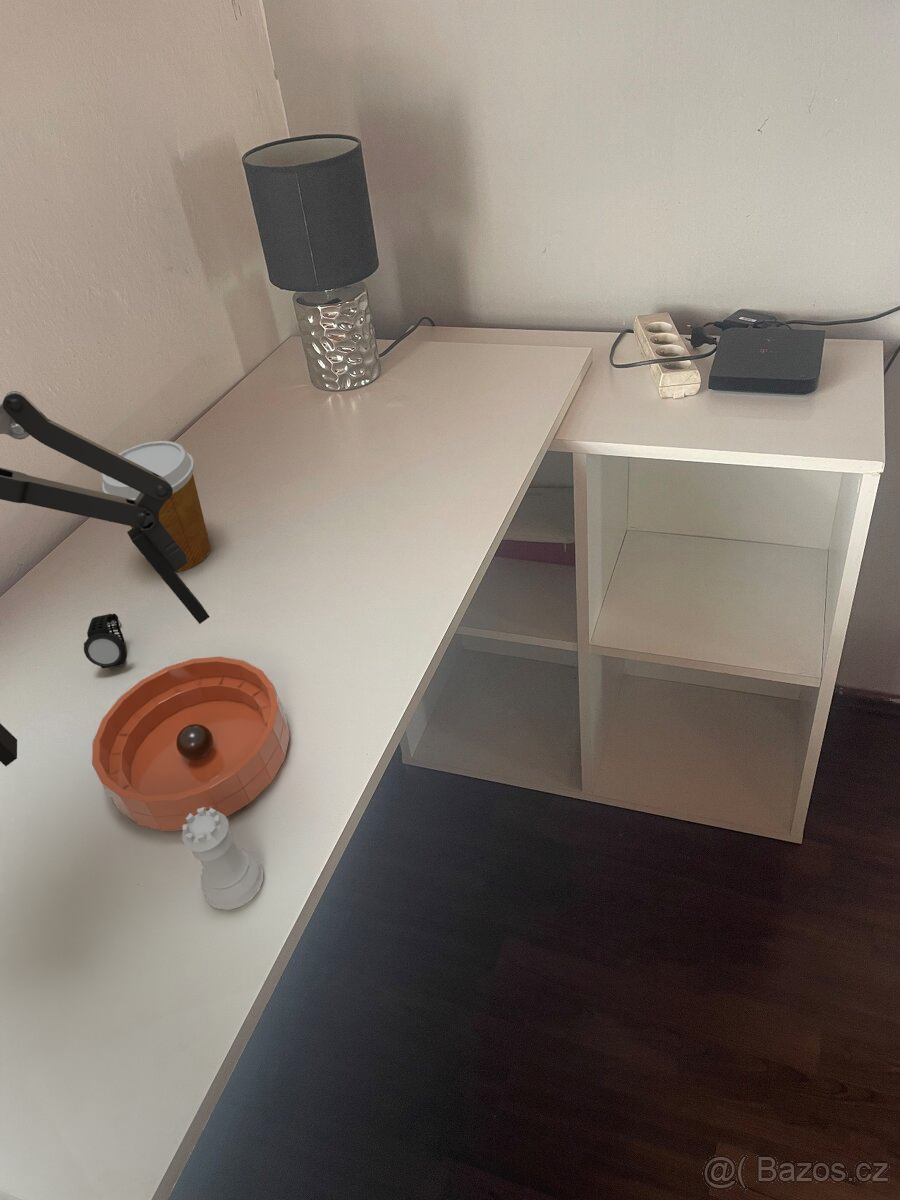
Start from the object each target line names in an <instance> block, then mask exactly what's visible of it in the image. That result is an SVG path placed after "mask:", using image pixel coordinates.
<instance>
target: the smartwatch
mask: <svg viewBox="0 0 900 1200" xmlns="http://www.w3.org/2000/svg"><path fill="white" fill-rule="evenodd" d="M122 628H123V623H122V622H121V621H120V619H119V616H118V615H117V614H116V613H107V614H102V615H98V616H95V617H92V618H91V619H90V622H89V625H88V629H87V632H86V634H87V639H85V641H84V642H83V653H84V655H85V657H86V659H87V660H88V661H89V662H90V663H92V664H93V665H95V666H98V667H101V669H109V668H114V667H120V666H123V665H124V664H125V663H126V660H127V646H126V642H125V637H124V634H123V632H122V630H121V629H122Z"/></svg>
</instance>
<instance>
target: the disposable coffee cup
mask: <svg viewBox="0 0 900 1200" xmlns="http://www.w3.org/2000/svg"><path fill="white" fill-rule="evenodd" d="M118 454H119V455H120V456H122V457H124V458H126V459H128V460H130V461H132V462H134V463H136V464H138V465H140V466H142V467H144V468H146V469H148V470H150V471H152V472H154V473H156V474H158V475H160V476H162V477H163V478H164V479H165V480H166V481H167V482H168V483H169V484H170V485H171V487H172V490H173V493H172V496H171V497H170V499H168V500H167V501H166V502H165V503H164V505H163V506H162V508H161V509H160V511H159V521H160V523H161V524H162V525H163V527H164V528H165V529H166V530H167V532H168V533H169V534H170V535H171V537H172V538H173V539H174V540H175V542H176V543H177V544H178V546H179V547H180V548H181V549H182V551H183V552H184V553H185V555H186V559H187V564H185V565H184V566H182V567H181V568H180V569H178V570H177V571H176V572H180V571H181V572H182V571H186V570H189V569H191V568H193V567H195V566H196V565H198V564H200V563H201V562H203V561H204V560H205V559H206V557H207V556H208V555H209V553H210V551H211V543H210V540H209V539H210V538H209V535H208V530H207V526H206V522H205V519H204V514H203V510H202V505H201V501H200V497H199V493H198V489H197V485H196V481H195V476H194V466H195V462H194V457H193V456H192V455H191V454H190V453H188V452H187V451H186V450H185V448H184V447H183V446H182V445H181V444H179V443H177V442H174V441H169V440H156V441H148V442H144V443H141V444H137V445H133V446H132V447H130V448H127V449H125V450H123V451H121V452H120V453H118ZM101 479H102V483H101V489H102V491H103V493H107V494H111V495H115V496H120V497H124V498H128V499H133V500H136V498H137V497H138V495H139V494H140V492H139V491H137V490H135V489H133V488H131V487H129V486H127V485H125V484H123V483H121V482H119V481H117V480H115V479H113V478H111V477H109V476H107V475H105V474H103V473H101ZM132 528H134V527H133V526H130V529H132Z"/></svg>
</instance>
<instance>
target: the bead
mask: <svg viewBox="0 0 900 1200" xmlns="http://www.w3.org/2000/svg"><path fill="white" fill-rule="evenodd" d="M213 742H214V740H213V735H212V733H211V732H210V730H209V729H208V728H206V727H205V726H203V725H200V724H191V725H188V726H186V727H185V728H183V729H182V730H181V731H180V733H179V734H178V736H177V740H176V746H177V750H178V752H179V753H180V754H181V755H182V756H183V757H184V758H186V759H188V760H200V759H202V758H204V757H206V756H207V755H208V754H209V753H210V751H211V750H212V747H213Z"/></svg>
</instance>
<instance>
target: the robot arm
mask: <svg viewBox="0 0 900 1200" xmlns="http://www.w3.org/2000/svg"><path fill="white" fill-rule="evenodd" d="M0 434H1V435H2V434H3V435H6V436H7V435H8V436H9V437H11V438H13V439H14V440H25V439H27V438H28V437H32V439H33V438H34V439H35V440H36V441H38V443H41V444H43V445H44V446H46V447H48V448H50V449H52V450H53V451H56V452H58V453H60V454H62V455H64V456H66V457H68V458H70V459H73V460H74V461H77V462H78V463H80V464H83V465H84V466H86V467H89V468H91V469H92V470H95V471H97V472H99V473H101V474H102V473H103V474H105V475H107V476H109V477H111V478H113V479H115V480H117V481H119V482H121V483H123V484H125V485H127V486H129V487H131V488H133V489H135V490H137V491H139V492H140V494H139V495H138V497H137V498H136V500H133V499H128V498H124V497H120V496H115V495H111V494H107V493H104V492H102V491H98V490H93V489H89V488H85V487H81V486H76V485H72V484H67V483H64V482H59V481H54V480H50V479H46V478H41V477H38V476H33V475H29V474H26V473H24V472H21V471H17V470H13V469H8V468H3V467H0V501H1V500H2V501H6V502H11V503H16V504H27V505H31V506H37V507H41V508H45V509H50V510H54V511H60V512H64V513H69V514H73V515H79V516H82V517H83V516H84V517H86V518H92V519H97V520H101V521H105V522H111V523H115V524H120V525H123V526H129V527H131V526H133V527H134V528H130V529H129V530H127V531H126V533H127V535H128V537H129V539H130V541H131V542H132V544H133V545H134V546H135V547H136V548H137V549H138V551H139V552H140V553H141V554H142V556H143V557H144V558H145V559H146V560H147V562H148V563H149V564H150V566H151V567H152V568H153V570H155V571H156V573H157V574H158V576H159V577H160V578H161V579H162V580H163V582H165V584H166V585H167V586H168V588H169V589H170V590H171V591H172V593H173V594H174V595H175V596H176V598H177V599H178V600H179V601H180V602H181V604H182V605H183V606H184V607H185V608H186V610H187V611H188V612H189V613H190V615H192V617H193V618H194V619H195V620H196V623H198V625H201V624H202V623H204V622H205V621H206V620H207V619H209V618H210V615H209V613H208V612H207V610H206V609H205V607H204V606H203V604H202V603H201V601H200V600H198V598H197V596H195V594H194V593H193V592H192V591H191V589H190V588H189V587H188V586H187V585H186V583H185V582H184V580H183V579H182V578H181V577H180V576H179V574H178V573H177V572H178V571H177V570H178V569H180V568H181V567H182V566H184V565H185V564H187V559H186V555H185V553H184V552H183V551H182V549H181V548H180V547H179V546H178V544H177V543H176V542H175V540H174V539H173V538H172V537H171V535H170V534H169V533H168V532H167V530H166V529H165V528H164V527H163V525H162V524H161V523H160V521H159V511H160V509H161V508H162V506H163V505H164V503H165V502H166V501H167V500H168V499H170V497H171V496H172V493H173V490H172V487H171V485H170V484H169V483H168V482H167V481H166V480H165V479H164V478H163V477H162V476H160V475H158V474H156V473H154V472H152V471H150V470H148V469H146V468H144V467H142V466H140V465H138V464H136V463H134V462H132V461H130V460H128V459H126V458H124V457H122V456H120V455H119V454H120V453H117V452H115V451H113V450H110V449H109V448H107V447H105V446H104V445H101V444H99V443H97V442H95V441H93V440H91V439H89V438H87V437H86V436H83V435H81V434H79V433H77V432H75V431H73V430H71V429H69V428H68V427H66V426H63V425H62V424H60V423H58V422H56V421H54V420H53V419H50V418H48V417H47V416H46V415H45V414H44V413H43V412H42V411H41V410H40V409H39V408H38V407H37V406H36V405H35V404H34V402H32V401H31V400H30V399H29V398H28V397H27V396H26V395H25V394H23V392H21V391H18V390H11V391H9V392H7V393H6V394H5V396H4V397H3V400H2V402H1V403H0ZM17 759H18V739H17V738H16V737H15V735H13V734H12V733H11V732H10V731H9V730H8V729H7V728H6V727H5V726H4V725H3V724H2V723H1V722H0V763H1V764H2V765H3V766H4V767H8V766H9V765H11V764H12V763H13V762H14V761H16V760H17Z"/></svg>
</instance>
